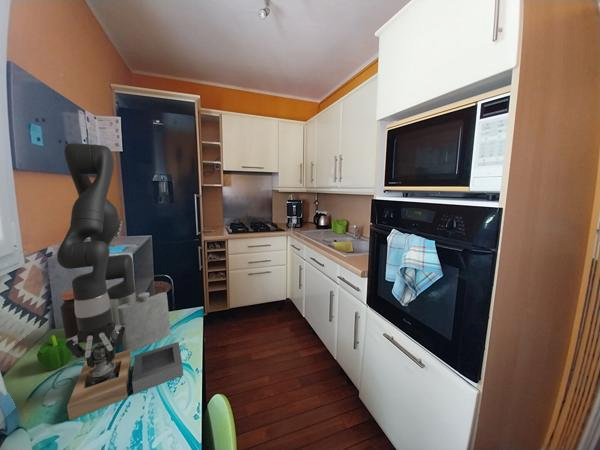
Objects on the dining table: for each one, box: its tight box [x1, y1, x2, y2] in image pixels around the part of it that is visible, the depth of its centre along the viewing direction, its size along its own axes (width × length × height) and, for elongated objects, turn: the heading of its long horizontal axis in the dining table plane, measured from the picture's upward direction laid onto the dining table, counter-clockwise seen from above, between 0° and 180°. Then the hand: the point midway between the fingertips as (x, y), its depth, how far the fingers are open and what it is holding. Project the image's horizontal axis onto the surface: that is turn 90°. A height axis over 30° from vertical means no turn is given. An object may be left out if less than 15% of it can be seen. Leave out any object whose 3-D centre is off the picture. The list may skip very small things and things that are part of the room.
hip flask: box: [118, 291, 172, 353], centre depth 89 cm, size 16×4×20 cm, turn 140°
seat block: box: [131, 341, 184, 395], centre depth 76 cm, size 13×13×4 cm
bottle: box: [60, 289, 83, 344], centre depth 92 cm, size 7×7×20 cm
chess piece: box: [90, 343, 117, 386], centre depth 70 cm, size 6×6×12 cm
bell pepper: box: [36, 334, 73, 371], centre depth 79 cm, size 8×8×10 cm
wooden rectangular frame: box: [66, 350, 133, 421], centre depth 70 cm, size 18×12×4 cm, turn 32°
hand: (102, 362), depth 70 cm, fingers closed on chess piece, 3 cm apart
